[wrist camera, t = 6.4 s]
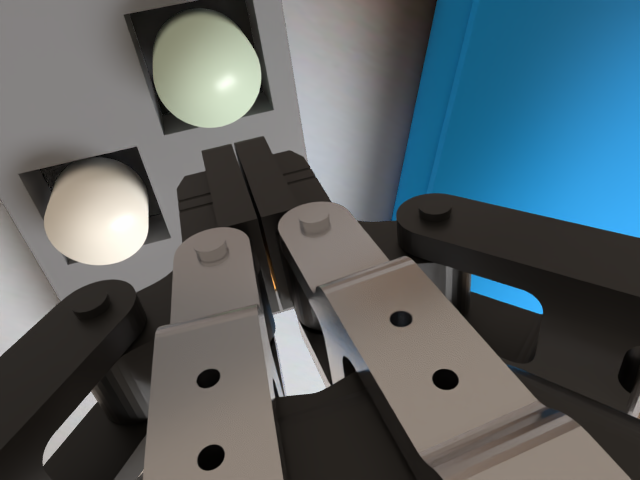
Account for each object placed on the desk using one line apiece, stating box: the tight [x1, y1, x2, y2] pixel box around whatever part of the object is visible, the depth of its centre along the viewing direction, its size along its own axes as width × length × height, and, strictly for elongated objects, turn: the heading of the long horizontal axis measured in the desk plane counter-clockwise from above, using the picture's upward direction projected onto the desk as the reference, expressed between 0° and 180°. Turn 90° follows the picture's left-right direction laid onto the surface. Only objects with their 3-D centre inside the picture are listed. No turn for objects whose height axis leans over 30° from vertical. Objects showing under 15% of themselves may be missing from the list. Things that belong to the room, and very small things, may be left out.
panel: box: [0, 0, 308, 315], centre depth 24 cm, size 13×18×2 cm
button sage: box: [153, 8, 261, 128], centre depth 20 cm, size 4×4×2 cm
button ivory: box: [44, 157, 148, 265], centre depth 22 cm, size 4×4×2 cm
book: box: [391, 0, 640, 314], centre depth 30 cm, size 17×4×25 cm
